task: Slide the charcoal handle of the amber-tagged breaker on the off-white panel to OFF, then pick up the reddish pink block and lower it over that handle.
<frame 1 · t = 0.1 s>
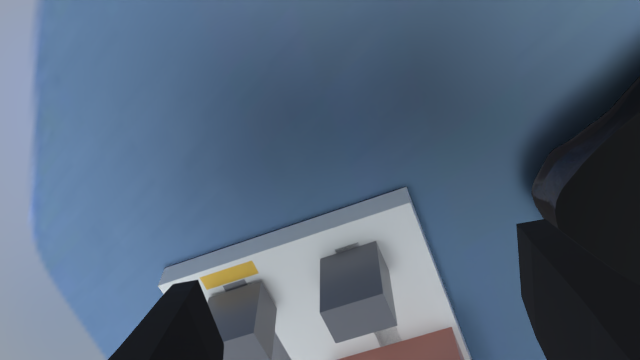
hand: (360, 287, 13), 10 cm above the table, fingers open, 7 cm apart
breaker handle: (238, 328, 24), point 3 cm above the table, slide at 0.0 cm
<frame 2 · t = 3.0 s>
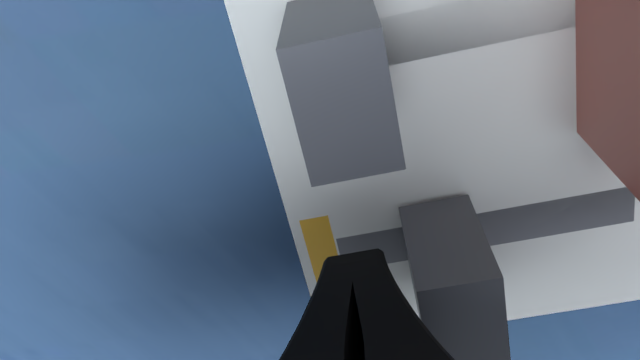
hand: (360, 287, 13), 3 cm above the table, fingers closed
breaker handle: (451, 283, 13), point 3 cm above the table, slide at 1.4 cm, touching gripper
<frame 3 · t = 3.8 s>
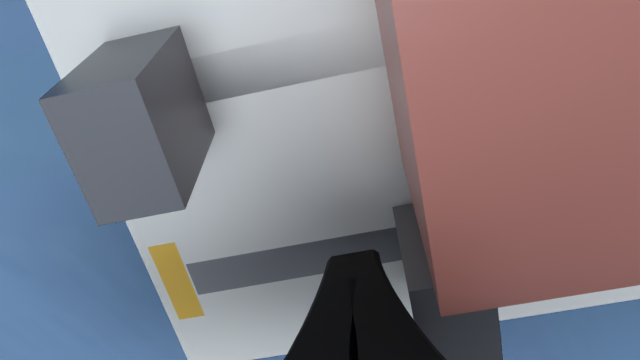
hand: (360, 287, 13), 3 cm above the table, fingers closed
reddish pink block: (522, 14, 12), point 1 cm above the table, touching breaker panel
breaker panel: (491, 109, 14), on the table
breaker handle: (444, 282, 13), point 3 cm above the table, slide at 5.1 cm, touching gripper
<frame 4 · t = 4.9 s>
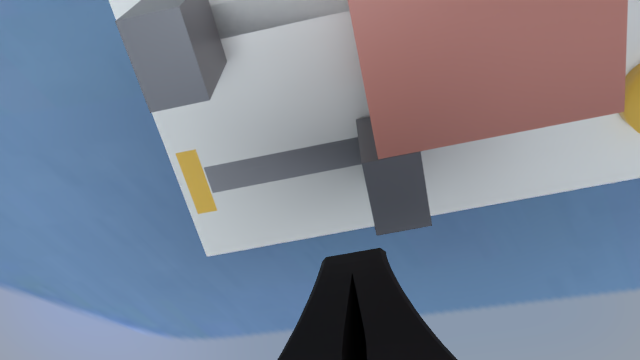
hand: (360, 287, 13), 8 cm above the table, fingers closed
breaker panel: (430, 48, 19), on the table
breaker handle: (392, 170, 18), point 3 cm above the table, slide at 5.0 cm
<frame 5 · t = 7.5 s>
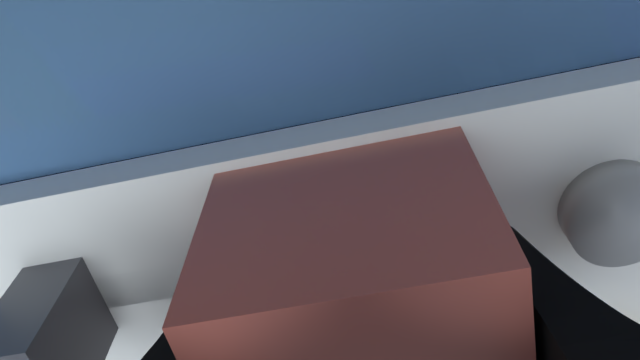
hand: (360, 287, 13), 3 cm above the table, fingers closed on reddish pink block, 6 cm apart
reddish pink block: (357, 250, 14), point 1 cm above the table, touching breaker panel, gripper
breaker panel: (354, 297, 17), on the table
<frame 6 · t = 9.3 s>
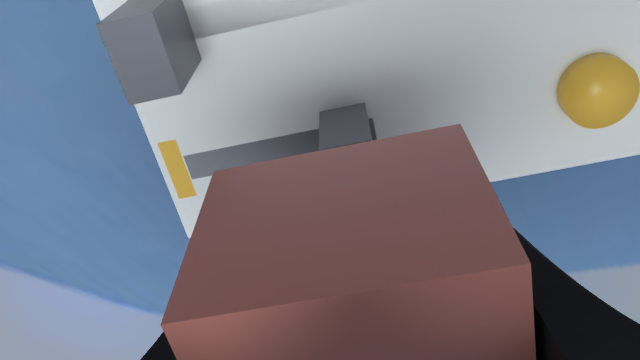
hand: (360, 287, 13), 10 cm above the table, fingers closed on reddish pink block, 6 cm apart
reddish pink block: (357, 248, 14), point 9 cm above the table, touching gripper
breaker panel: (388, 46, 21), on the table
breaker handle: (350, 157, 20), point 3 cm above the table, slide at 5.0 cm
when the fingers open (3 cm above the table, at t = 11.5 s): reddish pink block stays where it is, resting on breaker panel.
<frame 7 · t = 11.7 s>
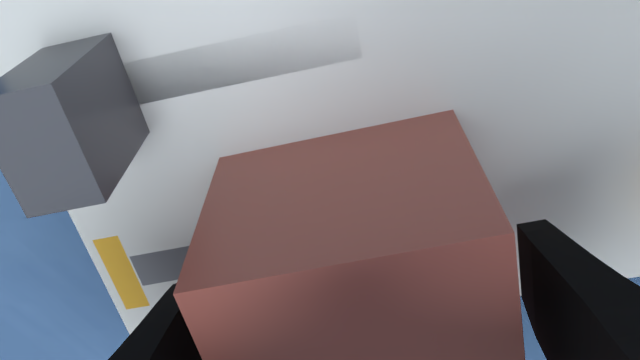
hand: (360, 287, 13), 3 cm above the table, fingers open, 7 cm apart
reddish pink block: (356, 231, 15), point 1 cm above the table, touching breaker panel
breaker panel: (413, 110, 15), on the table
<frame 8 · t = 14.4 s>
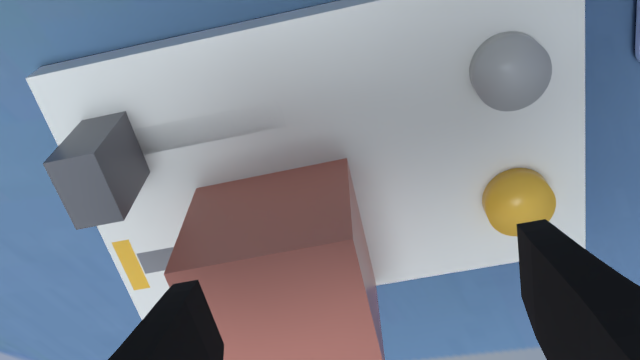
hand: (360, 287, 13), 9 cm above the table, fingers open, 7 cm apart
reddish pink block: (289, 236, 23), point 1 cm above the table, touching breaker panel
breaker panel: (326, 155, 22), on the table
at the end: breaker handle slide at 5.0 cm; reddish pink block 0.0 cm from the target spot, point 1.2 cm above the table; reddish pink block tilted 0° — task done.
